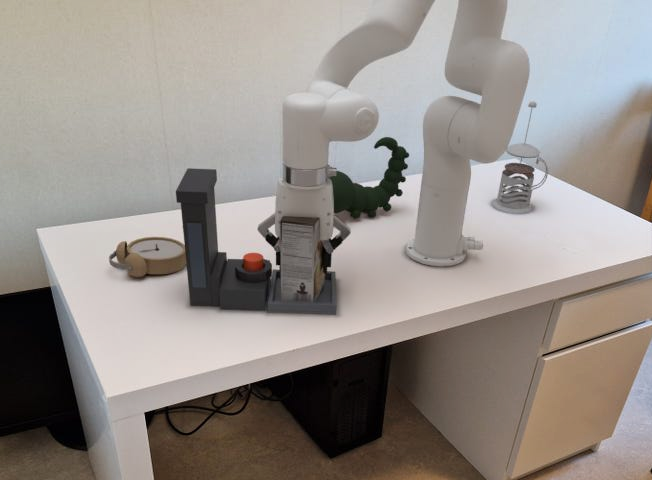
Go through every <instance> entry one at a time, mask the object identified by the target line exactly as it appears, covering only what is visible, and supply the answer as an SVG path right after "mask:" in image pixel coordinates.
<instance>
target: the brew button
mask: <svg viewBox="0 0 652 480" xmlns="http://www.w3.org/2000/svg"><path fill="white" fill-rule="evenodd" d="M242 259H243V265H244V269H246V270H249V271H257V270H261V269H263V268H264V261H263V259H264V255H263V254H261V253H259V252H248V253H245V254H244V255H243V257H242Z"/></svg>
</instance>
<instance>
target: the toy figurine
mask: <svg viewBox="0 0 652 480" xmlns="http://www.w3.org/2000/svg"><path fill="white" fill-rule="evenodd" d="M380 147H386V149H388V150H389V151H391V157H390V158H389V160H388V162H387V167H388V168H386V169H385V171H384V173H383V178H382V179H381V180H380V181H379V183H378V185H374V186H373V187H372V186H363V184H360V183H358V182H353V180H352V179H351V177H350V176H349V175H347V174H346V173H344V172H342V171H340V170H336V176H332V177H330V176H329V179H330V180H331V181H332V186H333V196H334V214H340V213H342V212H347V213H349V216H350V218H352V219H353V220H357V219H360V217H361V215H362V213H363V214H366V215H367V216H368V218H369V219H374V218H376V217H377V210H378V209H382V210H383V211H384V212H386V213H388V212H390V211H391V210H392V204H391V203H389V202H390V200H391V198H392V197H395V196H396V197H402V196H403V193H404V192H403V190H402V189H401V188H400V187H399V184H400V183H405V182H406V181H407V178H406V176H404V175H403V171H406V170H407V169H408V167H409V164H408V163H407V162H406V161H405V160H406V159H408V158H409V157H410V153H409V152H408V151H407V150H406V148H405V147H404V146H402V145H399V144H398V141H397V140H396V139H395V138H393V137H390V136H383V137H381V138H380V139H378V140H377V141H376V142H375V144H374V145H373V148H374V150H376V149H379V148H380Z"/></svg>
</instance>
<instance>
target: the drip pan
mask: <svg viewBox="0 0 652 480" xmlns="http://www.w3.org/2000/svg"><path fill="white" fill-rule="evenodd" d="M336 276H337V275H336V271H335V270H334V271H331V270H327V274H325V284H324V286H323V288H322V290H321V292H320V294H319V296H318V298H317V300H316V302H315V303H310V302H281V272H280V269H276V268H275V269H273V268H272V276H271V277H270V284H269V291H268V298H267V313H269V314H293V315H294V314H296V315H297V314H299V315H325V316H327V315H328V316H336V315H337V282H336V281H337V277H336Z"/></svg>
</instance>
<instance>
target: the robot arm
mask: <svg viewBox="0 0 652 480" xmlns="http://www.w3.org/2000/svg"><path fill="white" fill-rule="evenodd" d="M435 1H436V0H373V2H372V3H371V5H370V8H369V9H368V11H367V13H366V14H365V16H363V18H362V19H361V20H360V21H359V22H358V23H356V24H355V25H354V26H352V27H351V28H350V29H349V30H348V31H347V32H346V33H344V34H343V35H342V36H341V37H340V38H339V39H337V41H335V42H334V43H333V44H332V45H331V46H330V47H329V48H328V49H327V51H326V52H325V53H324V54H323V56H322V57H321V59H320V61H319V62H318V64H317V66H316V68H315V69H314V72H313V74H312V76H311V78H310V80H309V82H308V84H307V86H306V89H305V91H304V92H296V93H295V92H294V93H292V94H289V95H287V96H286V97H285V98H284V100H283V101H282V110H281V111H282V112H281V113H282V176H280V177H279V178H278V180H277V184H276V185H277V186H276V192H275V206H274V213H272V215H270V216H268V217H267V218H265V220H263V221H262V222H260V223H259V224H258V225H257V232H258V233H259V235H261V236H262V237H263V238H264V239H265V241H266V242H267V244H269V246H271V247H272V248H273V250H274V252H275V266H279V270H280V272H281V240H280V220H281V218H282V217H283V216H293V217H316V218H320V240H321V242H322V244H323V245H324V247H325V248H324V256H323V273H325V274H327V271H328V268H332V254H333V253H334V251H335V250H336V249H337V248H338V247H340V246H341V245H342V244H343V242H344V241H345V240H346V239H347V238H348V237H349V236H350V235H351V232H352V231H351V227H349V226H348V225H347V224H345V222H343V221H342V220H341V219H339V218H338V216H336V215H335V213H334V196H333V186H332V181H331V180H330V179H329V176H330V177H332V176H336V171H338V170H337V167H333V166H331V164H329V153H330V151H329V150H330V143H331V142H343V143H344V142H345V143H349V142H350V143H352V142H353V143H354V142H359V141H363V140H365V139H367V138H368V137H370V136H371V135H372V134H373V133H374V132H375V130H376V128H377V126H378V124H379V118H380V115H379V114H380V113H379V108H378V107H377V104H376V103H375V102H374V101H373V100H372V99H371V98H370V97H369V96H367V95H365V94H364V93H361V92H359V91H355V90H353V89H351V88H348V87H349V86H350V84H351V83H352V81H353V80H354V78H355V77H356V76H357V75H358V74H359V72H361V70H363V69H364V68H366V67H367V66H368V65H370V64H373V63H374V62H377V61H378V60H381V59H384V58H387V57H391V56H393V55H396V54H398V53H400V52H403V51H405V50H407V49H408V48H410V47H411V45H412V44H413V42H414V40H415V38H416V36H417V34H418V32H419V30H420V29H421V27H422V25H423V23H424V21H425V19H426V18H427V16H428V14H429V12H430V10H431V9H432V7H433V5H434V3H435ZM507 10H508V0H458V3H457V10H456V14H455V19H454V22H453V23H454V24H453V28H452V32H451V37H450V41H449V45H448V49H447V53H446V58H445V63H444V77H445V80H446V82H447V83H448V84H449V85H450V86H452V87H454V88H456V89H459V90H461V91H463V92H468V93H470V94H475V95H477V96H481V100H480V103H479V102H476V101H474V100H471V99H470V100H469V99H466V98H464V97H460V96H455V95H444V96H440V97H437V98H436V99H434V100H433V101H432V102H430V104H429V105H428V106H427V108H426V111H425V113H424V115H423V119H422V140H423V164H422V173H421V180H420V181H421V183H420V191H419V199H418V200H419V201H418V208H417V216H416V223H415V233H414V239H411V240H409V241H408V242H407V244H406V245H405V246H406V247H405V253H406V255H407V256H408V257H409V258H410V259H412V260H413V261H415V262H417V263H420V264H421V265H422V264H423V265H426V266H431V267H452V266H455V265H459V264H461V263H462V262H464V261H465V259H466V255H467V252H468V250H473V251H482V250H483V249H484V241H483V240H476V237H475V236H465V235H463V229H464V222H465V217H466V216H465V215H466V211H467V210H466V209H467V203H468V197H469V190H470V186H471V180H472V179H471V178H472V166H471V161H473V162H476V163H480V164H485V165H486V164H492V163H495V162H497V161H498V160H499V159H501V157H502V156H503V155H504V153H506V149H507V147H509V146H510V145H509V144H510V142H511V140H512V137H513V134H514V130H515V127H516V124H517V121H518V117H519V114H520V111H521V107H522V104H523V100H524V97H525V95H526V91H527V87H528V84H529V78H530V72H531V71H530V70H531V66H530V65H531V64H530V58H529V54H528V53H527V51H526V49H525V48H524V47H523V46H522V45H521V44H519V43H517V42H514V41H511V40H507V39H503V38H502V35H503V29H504V24H505V20H506V16H507ZM272 226H274V232H275V235H276V236H275V235H274V233H272V232H271V231H270V228H271V227H272ZM334 228H336V229H337V230H338V231H339V233H338V234H337V235H335V236H334V237H333V234H334ZM332 237H333V238H332Z"/></svg>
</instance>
